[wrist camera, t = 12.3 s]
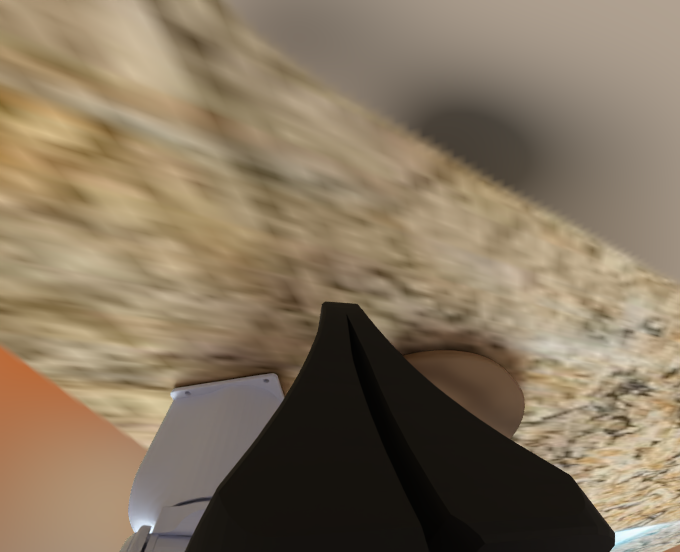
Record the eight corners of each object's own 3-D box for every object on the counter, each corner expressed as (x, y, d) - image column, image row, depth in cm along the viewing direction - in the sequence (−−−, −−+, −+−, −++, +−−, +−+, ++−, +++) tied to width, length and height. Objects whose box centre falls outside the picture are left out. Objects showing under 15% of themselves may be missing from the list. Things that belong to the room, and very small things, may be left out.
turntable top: (435, 488, 37) (447, 521, 33) (279, 467, 30) (275, 507, 27) (560, 382, 28) (593, 414, 24) (377, 319, 21) (389, 352, 18)
